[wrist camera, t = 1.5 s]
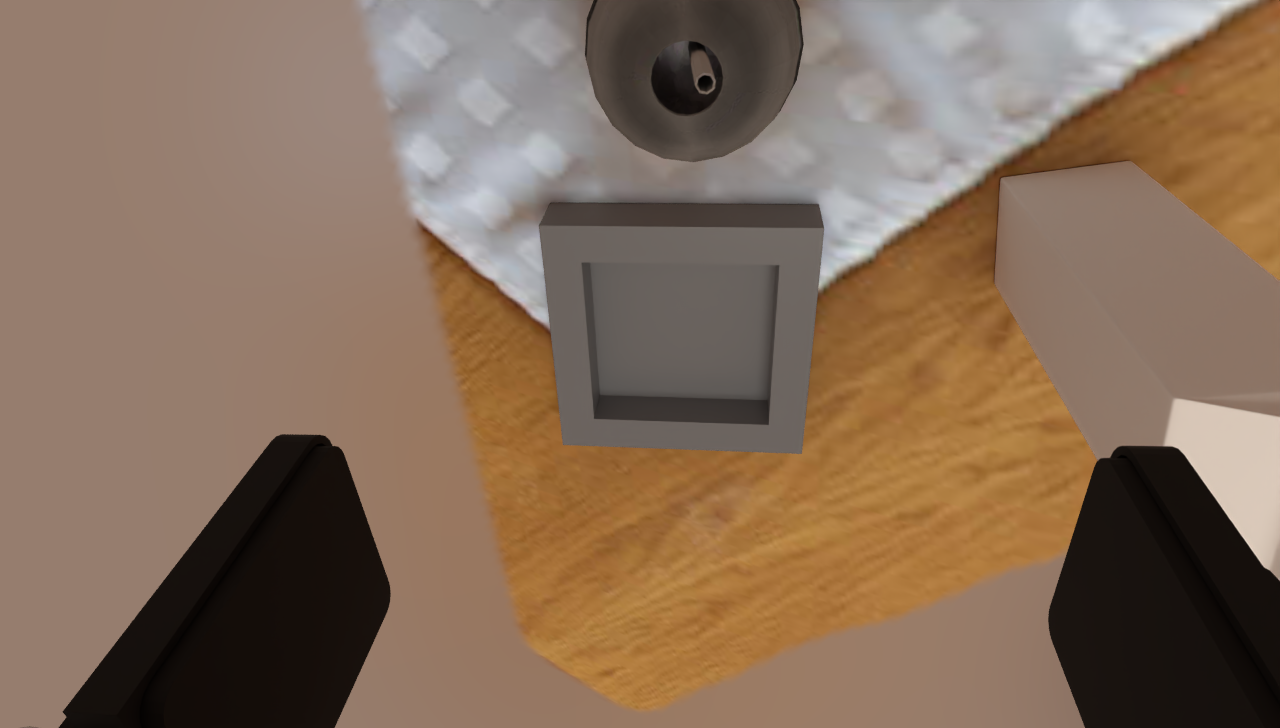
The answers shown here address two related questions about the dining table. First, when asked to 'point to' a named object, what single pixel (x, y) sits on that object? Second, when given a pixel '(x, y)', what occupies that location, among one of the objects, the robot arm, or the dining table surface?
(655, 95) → the beverage cup
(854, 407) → the dining table surface
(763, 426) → the tray
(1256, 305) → the milk
